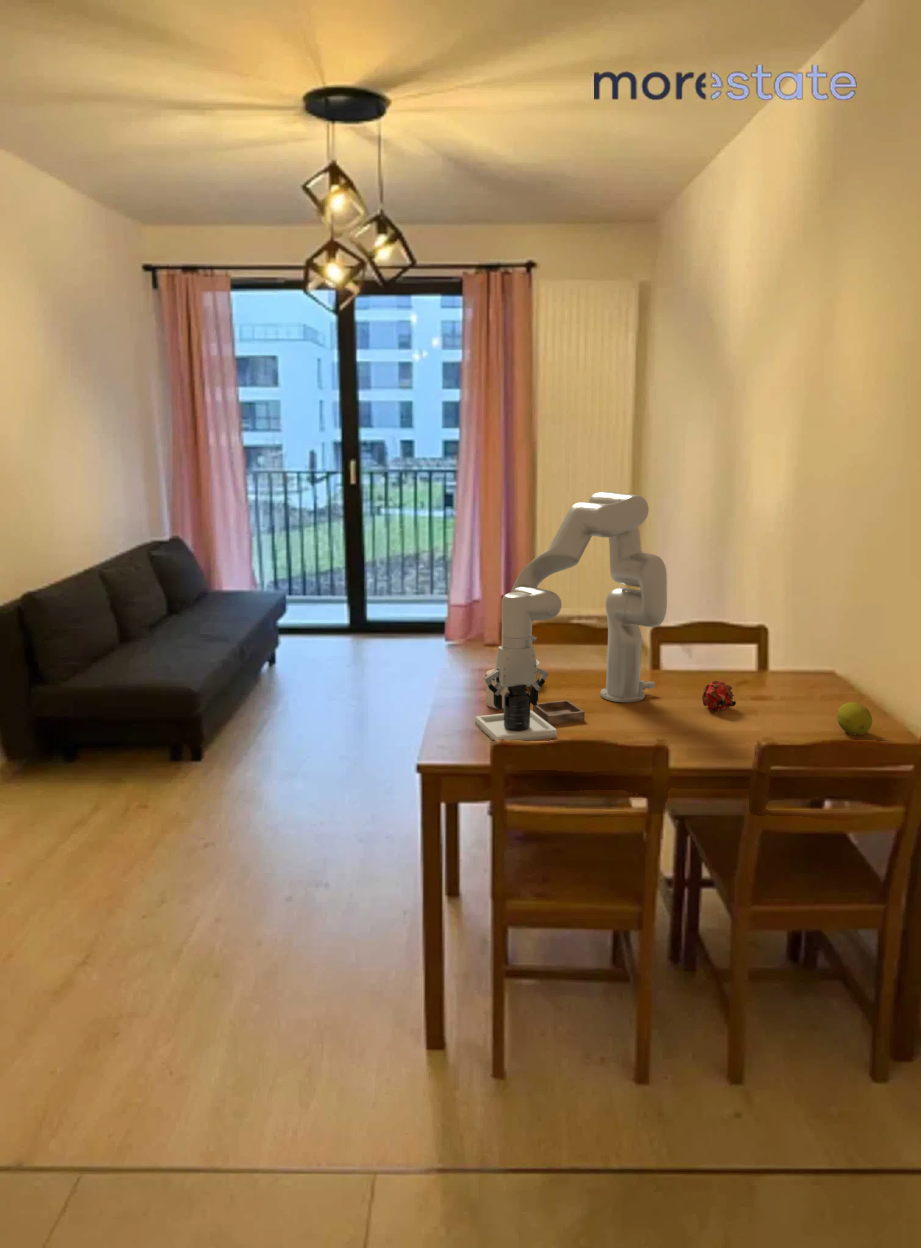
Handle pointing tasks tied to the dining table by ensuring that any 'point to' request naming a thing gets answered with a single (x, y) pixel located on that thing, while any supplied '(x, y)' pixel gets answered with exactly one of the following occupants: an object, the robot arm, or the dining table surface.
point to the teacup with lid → (491, 695)
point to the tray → (496, 730)
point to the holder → (559, 712)
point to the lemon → (854, 718)
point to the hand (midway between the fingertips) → (515, 706)
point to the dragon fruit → (718, 696)
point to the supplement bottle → (517, 708)
